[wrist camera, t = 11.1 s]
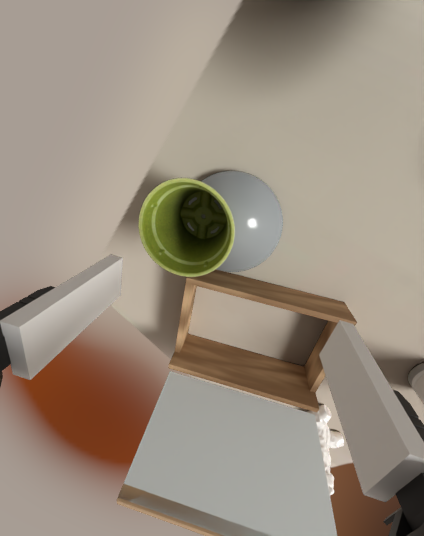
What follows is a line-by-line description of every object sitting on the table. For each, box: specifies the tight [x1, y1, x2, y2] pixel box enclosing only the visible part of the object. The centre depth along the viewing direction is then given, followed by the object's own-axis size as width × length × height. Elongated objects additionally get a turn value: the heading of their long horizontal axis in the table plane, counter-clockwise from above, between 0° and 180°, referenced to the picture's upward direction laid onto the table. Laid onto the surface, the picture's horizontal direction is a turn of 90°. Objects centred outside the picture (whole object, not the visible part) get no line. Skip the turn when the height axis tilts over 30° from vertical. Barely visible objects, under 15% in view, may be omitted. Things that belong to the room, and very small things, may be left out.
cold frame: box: [169, 269, 357, 412], centre depth 32 cm, size 14×22×7 cm, turn 79°
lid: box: [117, 371, 337, 536], centre depth 26 cm, size 14×21×1 cm
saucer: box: [187, 171, 283, 272], centre depth 30 cm, size 13×13×1 cm
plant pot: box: [138, 178, 235, 277], centre depth 25 cm, size 9×9×9 cm
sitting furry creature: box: [308, 405, 344, 495], centre depth 37 cm, size 10×9×12 cm
